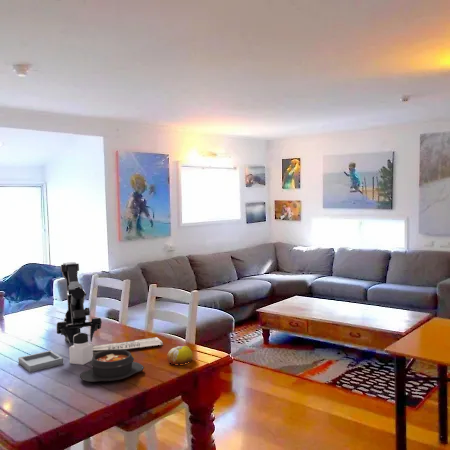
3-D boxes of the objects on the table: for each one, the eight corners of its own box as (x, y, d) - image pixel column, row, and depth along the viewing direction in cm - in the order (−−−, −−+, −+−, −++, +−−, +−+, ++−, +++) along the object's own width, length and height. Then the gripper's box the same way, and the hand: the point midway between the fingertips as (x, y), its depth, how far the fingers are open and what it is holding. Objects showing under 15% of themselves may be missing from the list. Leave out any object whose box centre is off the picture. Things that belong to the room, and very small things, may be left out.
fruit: (180, 354, 210) (184, 338, 208) (195, 366, 203) (199, 350, 201) (160, 360, 202) (163, 343, 200) (175, 373, 195) (178, 356, 193)
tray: (50, 355, 212) (50, 350, 212) (63, 363, 201) (63, 358, 201) (18, 363, 203) (18, 357, 202) (29, 372, 192) (29, 366, 192)
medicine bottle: (93, 359, 206) (92, 332, 205) (83, 365, 199) (82, 337, 199) (79, 357, 208) (78, 331, 208) (69, 363, 202) (68, 335, 201)
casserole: (88, 391, 172) (87, 369, 172) (74, 375, 188) (73, 355, 187) (151, 376, 186) (150, 355, 185) (133, 362, 201) (132, 343, 201)
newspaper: (156, 340, 234) (156, 333, 233) (164, 347, 222) (164, 340, 222) (83, 351, 219) (83, 343, 219) (87, 359, 208) (87, 351, 208)
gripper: (56, 304, 202) (58, 336, 193) (100, 299, 210) (105, 330, 200) (55, 317, 210) (58, 349, 201) (98, 313, 217) (102, 343, 208)
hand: (81, 342), depth 202 cm, fingers open, 8 cm apart
